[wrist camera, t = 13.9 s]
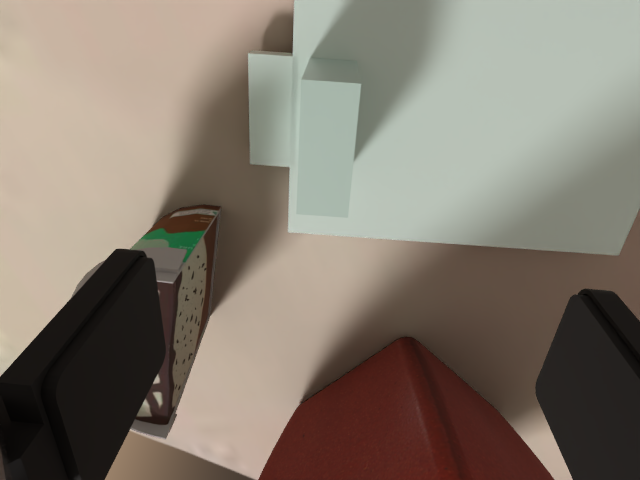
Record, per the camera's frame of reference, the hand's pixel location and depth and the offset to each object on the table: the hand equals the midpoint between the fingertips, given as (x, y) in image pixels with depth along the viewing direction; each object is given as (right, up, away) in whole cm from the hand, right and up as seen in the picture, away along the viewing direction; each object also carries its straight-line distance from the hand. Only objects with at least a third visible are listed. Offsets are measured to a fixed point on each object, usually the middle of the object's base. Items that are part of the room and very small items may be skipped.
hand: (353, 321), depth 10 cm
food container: (-11, +1, +22) cm, 25 cm away
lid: (+7, +9, +16) cm, 20 cm away
